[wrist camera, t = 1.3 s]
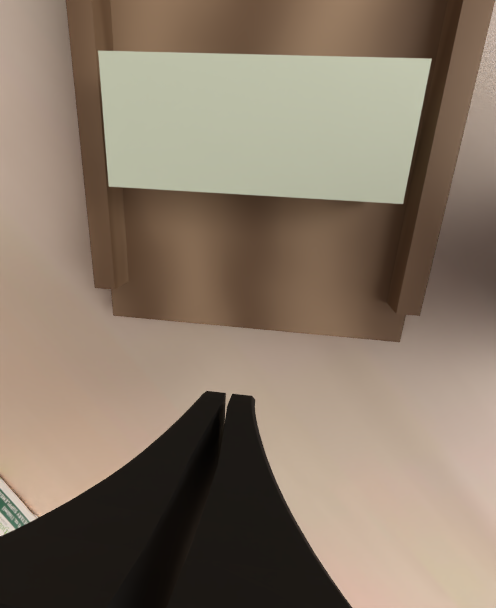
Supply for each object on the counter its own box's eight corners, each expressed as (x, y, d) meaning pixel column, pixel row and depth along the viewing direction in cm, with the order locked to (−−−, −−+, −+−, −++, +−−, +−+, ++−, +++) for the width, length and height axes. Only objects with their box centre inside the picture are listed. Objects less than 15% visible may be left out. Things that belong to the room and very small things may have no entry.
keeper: (390, 95, 13) (431, 58, 10) (373, 199, 15) (402, 204, 11) (147, 86, 14) (97, 50, 10) (151, 186, 16) (108, 186, 12)
